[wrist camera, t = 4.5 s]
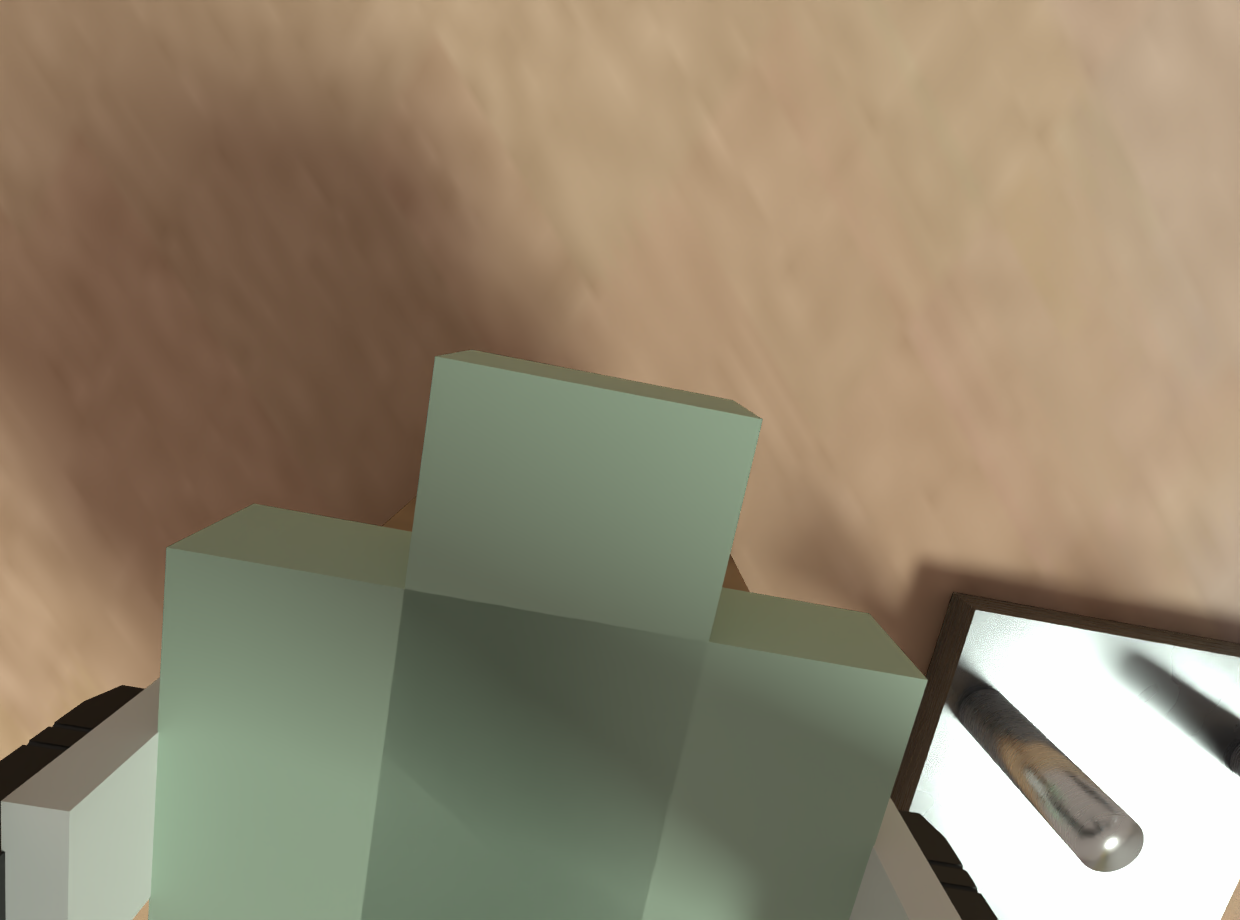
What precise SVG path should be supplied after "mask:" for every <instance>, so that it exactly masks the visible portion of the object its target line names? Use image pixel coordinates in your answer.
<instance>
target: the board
mask: <svg viewBox="0 0 1240 920" xmlns="http://www.w3.org/2000/svg"><path fill="white" fill-rule="evenodd" d="M762 420H763V419H761V418H760V417H758V416H757V415H755V414H754V413H752V412H750V411H749V410H747V409H746V408H744V407H743V406H741V405H739V404H738V403H736V402H735V401H733V400H729V399H724V398H719V397H714V396H709V395H704V394H698V393H693V392H688V391H683V390H678V389H673V388H667V387H662V386H657V385H652V384H647V383H642V382H636V381H631V380H626V379H621V378H616V377H611V376H605V375H600V374H595V373H590V372H585V371H580V370H574V369H569V368H564V367H559V366H554V365H549V364H544V363H538V362H533V361H528V360H523V359H518V358H513V357H507V356H502V355H497V354H492V353H487V352H482V351H476V350H467V351H462V352H456V353H450V354H445V355H439V356H435V361H434V369H433V376H432V384H431V392H430V399H429V407H428V414H427V422H426V430H425V437H424V445H423V452H422V460H421V467H420V475H419V483H418V490H417V498H416V505H415V513H414V520H413V528H412V532H410V531H405V530H399V529H393V528H388V527H382V526H377V525H371V524H365V523H360V522H354V521H349V520H343V519H337V518H332V517H326V516H321V515H315V514H309V513H304V512H298V511H293V510H287V509H281V508H276V507H270V506H265V505H259V504H252V505H250V506H248V507H246V508H244V509H242V510H240V511H238V512H236V513H234V514H232V515H230V516H228V517H226V518H224V519H222V520H220V521H218V522H216V523H214V524H212V525H210V526H208V527H206V528H204V529H202V530H200V531H198V532H196V533H194V534H192V535H190V536H188V537H186V538H184V539H182V540H180V541H178V542H176V543H174V544H172V545H170V546H168V547H166V567H165V588H164V608H163V629H162V649H161V670H160V690H159V711H158V731H157V732H159V736H158V756H157V777H156V797H155V817H154V838H153V858H152V878H151V897H150V898H149V915H148V920H849V919H850V916H851V912H852V909H853V906H854V903H855V900H856V897H857V894H858V891H859V888H860V885H861V881H862V878H863V875H864V872H865V869H866V866H867V863H868V860H869V857H870V854H871V851H872V847H873V846H874V845H875V842H876V839H877V836H878V833H879V830H880V826H881V823H882V820H883V817H884V814H885V811H886V808H887V805H888V802H889V799H890V796H891V792H892V789H893V786H894V783H895V780H896V777H897V774H898V771H899V768H900V765H901V762H902V758H903V755H904V752H905V749H906V746H907V743H908V740H909V737H910V734H911V731H912V728H913V724H914V721H915V718H916V715H917V712H918V709H919V706H920V703H921V700H922V697H923V694H924V690H925V687H926V684H927V681H928V680H927V679H926V677H925V676H924V675H923V674H922V673H921V672H920V671H919V669H918V668H917V667H916V666H915V665H914V664H913V663H912V662H911V660H910V659H909V658H908V657H907V656H906V655H905V654H904V652H903V651H902V650H901V649H900V648H899V647H898V646H897V645H896V643H895V642H894V641H893V640H892V639H891V638H890V637H889V635H888V634H887V633H886V632H885V631H884V630H883V629H882V628H881V626H880V625H879V624H878V623H877V622H876V621H875V620H874V618H873V617H872V616H871V615H870V614H869V613H863V612H858V611H852V610H847V609H841V608H835V607H830V606H824V605H819V604H813V603H807V602H802V601H796V600H791V599H785V598H779V597H774V596H768V595H763V594H757V593H751V592H746V591H740V590H735V589H729V588H723V587H722V585H723V581H724V577H725V573H726V569H727V565H728V560H729V556H730V552H731V548H732V544H733V540H734V536H735V532H736V527H737V523H738V519H739V515H740V511H741V507H742V503H743V498H744V494H745V490H746V486H747V482H748V478H749V474H750V469H751V465H752V461H753V457H754V453H755V449H756V445H757V441H758V436H759V432H760V428H761V424H762Z"/></svg>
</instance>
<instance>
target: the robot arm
mask: <svg viewBox="0 0 1240 920" xmlns="http://www.w3.org/2000/svg"><path fill="white" fill-rule="evenodd" d="M159 690H160V678H158V679H157V680H156V681H154V682H153V683H152V684H151V685H149V686H148V687H147V688H145V689H143V688H137V687H131V686H125V685H122V686H119V687H117V688H114V689H112V690H110V691H107V692H105V693H102V694H100V695H98V696H95V697H93V698H91V699H88V700H86V701H84V702H82V703H81V704H80V705H78V706H77V707H75V708H74V709H73V710H71V711H70V712H68V713H67V714H66V715H64V716H63V717H61V718H60V719H59V720H57V721H56V722H55V723H54V725H53V727H47V728H46V729H45V730H43V731H42V732H40V733H39V734H38V735H36V736H35V737H33V738H32V739H31V740H30V741H29V743H28V745H22V746H21V747H19V748H18V749H17V750H15V751H14V752H12V753H11V754H10V755H8V756H7V757H5V758H4V759H2V760H1V761H0V920H132V919H133V918H134V917H135V916H136V914H137V913H138V912H139V911H140V909H141V908H142V907H143V906H144V904H145V903H146V902H147V901H148V899H149V898H150V897H151V878H152V858H153V838H154V817H155V797H156V777H157V756H158V736H159V732H157V731H158V711H159ZM977 889H978V887H977V886H976V884H975V883H974V881H973V880H972V878H971V877H970V875H969V873H968V872H967V870H963V864H962V863H961V861H960V860H959V858H958V856H957V855H956V853H955V852H954V850H953V849H952V847H951V846H950V844H949V842H948V841H947V839H946V838H945V837H944V836H943V835H942V834H941V833H940V832H939V831H938V830H937V829H936V828H935V827H934V826H932V825H931V824H930V823H929V822H928V821H927V820H926V819H925V818H924V817H923V816H922V815H921V814H920V813H915V812H909V811H903V810H897V808H896V806H895V805H894V803H893V801H892V799H891V798H890V799H889V802H888V805H887V808H886V811H885V814H884V817H883V820H882V823H881V826H880V830H879V833H878V836H877V839H876V842H875V845H874V846H873V847H872V851H871V854H870V857H869V860H868V863H867V866H866V869H865V872H864V875H863V878H862V881H861V885H860V888H859V891H858V894H857V897H856V900H855V903H854V906H853V909H852V912H851V916H850V919H849V920H998V918H997V917H996V915H995V914H994V912H993V911H992V909H991V908H990V906H989V904H988V903H987V901H986V900H985V898H984V897H983V895H982V894H981V893H978V890H977Z"/></svg>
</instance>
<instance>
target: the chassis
mask: <svg viewBox="0 0 1240 920" xmlns="http://www.w3.org/2000/svg"><path fill="white" fill-rule="evenodd" d="M926 679H927V680H928V681H927V684H926V687H925V690H924V694H923V697H922V700H921V703H920V706H919V709H918V712H917V715H916V718H915V721H914V724H913V728H912V731H911V734H910V737H909V740H908V743H907V746H906V749H905V752H904V755H903V758H902V762H901V765H900V768H899V771H898V774H897V777H896V780H895V783H894V786H893V789H892V792H891V796H890V798H891V799H892V801H893V803H894V805H895V806H896V808H897V810H903V811H909V812H915V813H920V814H921V815H922V816H923V817H924V818H925V819H926V820H927V821H928V822H929V823H930V824H931V825H932V826H934V827H935V828H936V829H937V830H938V831H939V832H940V833H941V834H942V835H943V836H944V837H945V838H946V839H947V841H948V842H949V844H950V846H951V847H952V849H953V850H954V852H955V853H956V855H957V856H958V858H959V860H960V861H961V863H962V864H963V870H967V872H968V873H969V875H970V877H971V878H972V880H973V881H974V883H975V884H976V886H977V887H978V889H977V890H978V893H981V894H982V895H983V897H984V898H985V900H986V901H987V903H988V904H989V906H990V908H991V909H992V911H993V912H994V914H995V915H996V917H997V918H998V920H1220V919H1221V917H1222V915H1223V913H1224V910H1225V908H1226V906H1227V904H1228V902H1229V900H1230V898H1231V896H1232V893H1233V891H1234V889H1235V887H1236V885H1237V883H1238V881H1239V878H1240V644H1236V643H1230V642H1225V641H1219V640H1214V639H1208V638H1203V637H1197V636H1192V635H1186V634H1181V633H1175V632H1170V631H1164V630H1159V629H1153V628H1148V627H1142V626H1137V625H1131V624H1126V623H1120V622H1115V621H1109V620H1104V619H1098V618H1093V617H1087V616H1082V615H1076V614H1071V613H1065V612H1060V611H1054V610H1049V609H1043V608H1038V607H1032V606H1027V605H1021V604H1016V603H1010V602H1005V601H999V600H994V599H988V598H983V597H977V596H972V595H966V594H961V593H955V592H953V595H952V598H951V601H950V604H949V607H948V611H947V614H946V617H945V620H944V623H943V626H942V629H941V632H940V635H939V638H938V642H937V645H936V648H935V651H934V654H933V657H932V660H931V663H930V666H929V669H928V673H927V676H926Z"/></svg>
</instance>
